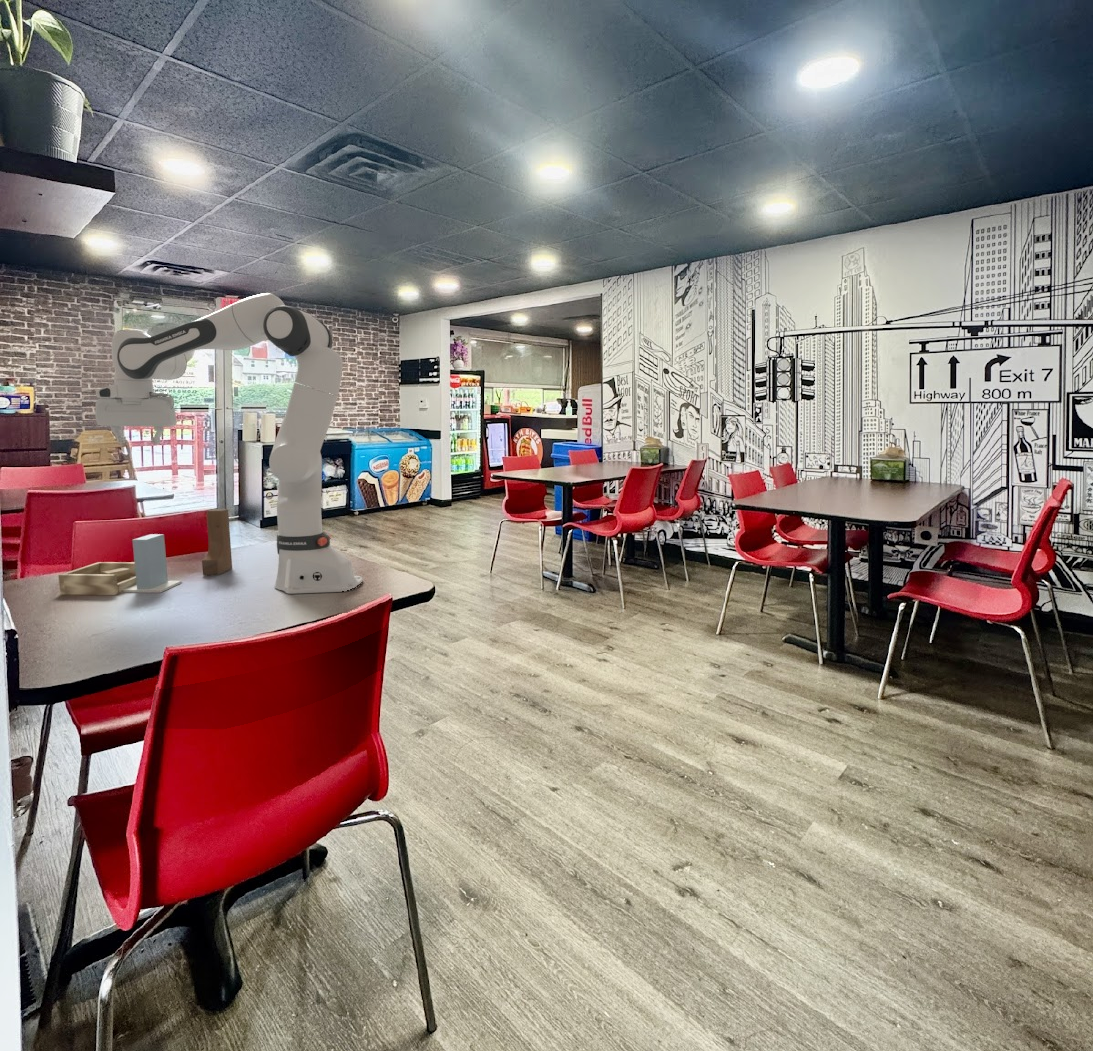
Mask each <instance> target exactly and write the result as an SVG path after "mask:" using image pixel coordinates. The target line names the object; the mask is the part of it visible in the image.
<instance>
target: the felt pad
mask: <svg viewBox="0 0 1093 1051" xmlns="http://www.w3.org/2000/svg"><path fill="white" fill-rule="evenodd" d="M180 584H182V580H168V582H166V583H164V584H161V585H159V586H157V587H155V588H152V589H137V584H136V585H134V586H131V587H129V588H126V589H124V590H123V592H122V593H152V594H153V593H154V594H155V593H160V594H161V593H162V592H165V591H168V590H170V589H172V588H173V587H176V586H177V585H180Z"/></svg>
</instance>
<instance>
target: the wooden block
mask: <svg viewBox="0 0 1093 1051" xmlns="http://www.w3.org/2000/svg"><path fill="white" fill-rule="evenodd" d="M205 514H206V524H207V526H206V527H207V537H208V538H207V540H208V541H207V542H208V551H207V554H206V557H205V558H203V559H202V561H201V568H202V575H203V576H220V575H222V574H224V573H226V572H228V571H230V570H232V569H233V560H232V547H231V546H232V545H231V544H232V543H231V532H230V531H231V530H230V518H229V517H230V516H229V509H228V508H212V509H209V510H208V509H207V510H206V513H205Z"/></svg>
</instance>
